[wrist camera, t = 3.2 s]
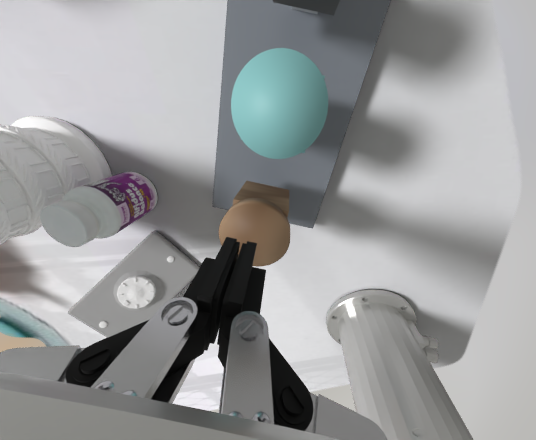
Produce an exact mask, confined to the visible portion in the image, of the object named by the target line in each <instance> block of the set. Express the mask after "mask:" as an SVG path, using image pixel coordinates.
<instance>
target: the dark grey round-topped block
mask: <svg viewBox="0 0 536 440" xmlns="http://www.w3.org/2000/svg"><path fill="white" fill-rule="evenodd" d="M273 2H274V3H279V4H284V5H288V6H293V7H297V8H302V9H307V10H311V11H316V12H320V13H325V14H330V15H334V14H335V11H336V9H337V6H338V4H339V2H340V0H273Z"/></svg>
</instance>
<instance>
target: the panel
mask: <svg viewBox="0 0 536 440" xmlns="http://www.w3.org/2000/svg"><path fill="white" fill-rule="evenodd" d="M390 1H391V0H340V2H339V4H338V6H337V9H336V11H335V14H334V15H330V14H325V13H320V12H316V11H311V10H307V9H302V8H297V7H293V6H288V5H284V4H279V3H274V2H273V0H228V2H227V16H226V29H225V43H224V57H223V70H222V84H221V97H220V111H219V124H218V138H217V152H216V165H215V179H214V192H213V207H217V208H222V209H226V210H229V209H230V208H231V207H232V206H233V199H234V198H235V196H236V195H237V193H238V192H239V191H240V189H241V188H242V186H243V185H244V183H245V182H246V181H251V182H256V183H260V184H265V185H269V186H274V187H278V188H283V189H288V190H289V213H288V217H287V218H288V221H289V223H290V224H295V225H299V226H304V227H308V228H313V227H314V224H315V221H316V218H317V215H318V212H319V209H320V206H321V203H322V200H323V197H324V194H325V191H326V189H327V186H328V183H329V180H330V177H331V174H332V171H333V168H334V165H335V162H336V159H337V156H338V153H339V150H340V148H341V145H342V142H343V139H344V136H345V133H346V130H347V127H348V124H349V121H350V118H351V115H352V112H353V110H354V107H355V104H356V101H357V98H358V95H359V92H360V89H361V86H362V83H363V80H364V77H365V74H366V71H367V69H368V66H369V63H370V60H371V57H372V54H373V51H374V48H375V45H376V42H377V39H378V36H379V33H380V30H381V28H382V25H383V22H384V19H385V16H386V13H387V10H388V7H389V4H390ZM275 48H287V49H292V50H295V51H298V52H300V53H302V54H304V55H305V56H307V57H308V58H309V59H310V60H311V61H312V62H313V63H314V64H315V65H316V66H317V68H318V69H319V70H320V72H321V74H322V75H324V76H325V78H324V81H325V84H326V87H327V92H328V112H327V117H326V121H325V123H324V126H323V128H322V130H321V132H320V134H319V136H318V137H317V139H316V140H315V141H314V142H313V143H312V144H311V145H310V146H309V147H308V148H307V149H306V150H305V153H300V154H298V155H295V156H293V157H290V158H285V159H272V158H267V157H264V156H261V155H259V154H257V153H256V152H254V151H253V150H251V149H250V148H249V147H248V146H247V145H246V144H245V143H244V142H243V140H241V138H240V136H239V134H238V133H237V130H236V128H235V126H234V122H233V118H232V113H231V98H232V91H233V88H234V84H235V82H236V79H237V77H238V75H239V74H240V72H241V70H242V69H243V68H244V66H245V65H246V64H247V63H248V62H249V61H250V60H251V59H252V58H254V57H255V56H256V55H258V54H260V53H262V52H264V51H267V50H270V49H275Z"/></svg>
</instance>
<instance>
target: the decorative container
mask: <svg viewBox="0 0 536 440" xmlns="http://www.w3.org/2000/svg"><path fill="white" fill-rule="evenodd" d="M111 176H112V174H111V171H110V167H109V165H108V163H107V161H106V159H105V157H104V155H103V153H102V152H101V151H100V150H99V148H98V147H97V146H96V145H95V143H94V142H93V141H92V140H91V139H90V138H89V137H88V136H87V135H85V134H84V133H83V132H82V131H81V130H80V129H78V128H76V127H75V126H73V125H71V124H70V123H68V122H66V121H63V120H60V119H57V118H55V117H44V116H28V117H24V118H21V119H18V120H17V121H15V122H14V123H13V124H12V125H11V126H9V125H6V126H2V125H1V124H0V245H1V244H2V243H4V242H5V241H6V240H7V239H9V238H11V237H16V236H22V235H26V234H30V233H32V232H35V231H36V230H38V229H39V228H40V227H41V226H43V225H42V223H41V220H40V214H41V211H42V210H43V209H44V208H45V207H47V206H49V205H52V204H54V203H56V202H59V201H62V200H63V198H64V196H65V195H66V193H67V192H69V191H70V190H72V189H74V188H76V187H79V186H83V185H86V184H89V183H92V182H95V181H99V180H102V179H105V178H108V177H111Z"/></svg>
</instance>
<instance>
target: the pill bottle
mask: <svg viewBox="0 0 536 440" xmlns="http://www.w3.org/2000/svg"><path fill="white" fill-rule="evenodd" d="M157 199H158V198H157V192H156V189H155V187H154V185H153V184H152V182H151V181H150V180H149V179H147V178H146V177H145V176H143V175H141V174H139V173H136V172H124V173H121V174H118V175H115V176H111V177H108V178H105V179H102V180H99V181H95V182H92V183H89V184H86V185H83V186H79V187H76V188H74V189H72V190H70V191H69V192H67V193H66V195H65V196H64V198H63V200H62V201H59V202H56V203H54V204H52V205H49V206H47V207H45V208H44V209H43V210H42V211H41V214H40V220H41V223H42V225H43V227H44V229H45V230H46V232H47V233H48V234H49V235H50V236H51V237H52V238H54V239H55V240H56V241H58V242H60V243H62V244H64V245H66V246H70V247H79V246H82V245H84V244H86V243H87V242H89V241H91V240H93V239H94V238H107V237H110V236H112V235H115V234H116V233H118V232H119V231H120V230H122V229H124V228H125V227H127V226H128V225H130V224H131V223H133V222H134V221H136V220H138V219H139V218H141V217H142V216H144V215H145V214H147V213H148V212H150V211H151V210H153V209H154V207H155V206H156V204H157Z"/></svg>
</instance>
